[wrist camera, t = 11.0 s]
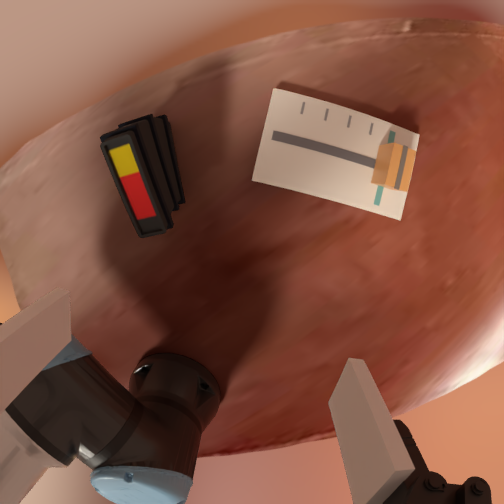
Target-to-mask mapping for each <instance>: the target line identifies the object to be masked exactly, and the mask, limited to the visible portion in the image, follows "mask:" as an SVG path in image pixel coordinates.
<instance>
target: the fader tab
mask: <svg viewBox="0 0 504 504" xmlns="http://www.w3.org/2000/svg"><path fill="white" fill-rule="evenodd" d="M415 155H416V151H415V150H412V149H410V148H408V146H405V145H403V146H402V145H400V144H397V143H395V142H394V143H389V144H384V145H379V149H378V154H377V158H376V163H375V167H374V171H373V176H372V180H371V183H373V184H376V185H379V186H382V187H385V188H388V189H391V190H397V191H403V192H407V191H408V187H409V183H410V178H411V174H412V169H413V165H414V160H415Z"/></svg>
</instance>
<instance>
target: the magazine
mask: <svg viewBox="0 0 504 504" xmlns="http://www.w3.org/2000/svg"><path fill="white" fill-rule="evenodd" d="M118 127H119V128H118V129H116V130H114V131H111V132H109V133H106V134H103V135H102V136H101V137H100V139H101V142H102V143H101V149H102V152H103V155H104V157H105V160H106V162H107V165H108V167H109V170H110V172H111V175H112V177H113V179H114V182H115V184H116V187H117V189H118V191H119V194H120V196H121V198H122V201H123V203H124V205H125V207H126V210H127V212H128V214H129V216H130V219H131V221H132V223H133V225H134V227H135V230H136V232H137V234H138V236H139V237H140V238H145V237H149V236H154V235H159V234H163V233H165V232H166V230H167V229H170V228H173V225H174V223H173V221H172V218H171V212H172V211H176V210H179V205H178V204H182V203H185V198H184V193H183V188H182V183H181V178H180V173H179V168H178V163H177V158H176V153H175V148H174V142H173V137H172V131H171V126H170V122H168V119H167V116H166V115H162V116H158V117H153V115H152V114H150V115H147V116H144V117H140V118H137V119H134V120H131V121H128V122H125V123H122V124H120V125H118Z"/></svg>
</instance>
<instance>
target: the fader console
mask: <svg viewBox="0 0 504 504" xmlns="http://www.w3.org/2000/svg"><path fill="white" fill-rule="evenodd" d="M418 140H419V135H418V134H416V133H414V132H411V131H409V130H407V129H404V128H402V127H399V126H397V125H394V124H391V123H389V122H386V121H384V120H381V119H378V118H375V117H373V116H370V115H367V114H364V113H361V112H358V111H355V110H352V109H349V108H346V107H343V106H340V105H336V104H333V103H330V102H326V101H323V100H319V99H316V98H312V97H309V96H305V95H301V94H297V93H293V92H289V91H285V90H281V89H276V88H273V93H272V97H271V101H270V105H269V109H268V113H267V117H266V121H265V126H264V130H263V134H262V138H261V142H260V147H259V151H258V155H257V159H256V164H255V168H254V172H253V176H252V181H256V182H261V183H265V184H269V185H273V186H277V187H282V188H286V189H290V190H294V191H298V192H302V193H306V194H309V195H313V196H317V197H321V198H325V199H328V200H332V201H336V202H339V203H343V204H346V205H350V206H354V207H357V208H361V209H364V210H367V211H371V212H374V213H377V214H381V215H384V216H387V217H391V218H394V219H397V220H400V219H401V216H402V212H403V208H404V204H405V200H406V196H407V192H408V191H407V192H403V191H397V190H391V189H388V188H385V187H382V186H379V185H376V184H373V183H371V180H372V176H373V171H374V167H375V163H376V158H377V154H378V149H379V145H384V144H389V143H394V142H395V143H397V144H400V145H402V146H403V145H405V146H408V148H410V149H412V150H415V151H417V145H418ZM415 156H416V155H415ZM414 161H415V160H414ZM412 170H413V169H412ZM411 175H412V174H411ZM410 179H411V178H410ZM409 184H410V183H409ZM408 188H409V187H408Z"/></svg>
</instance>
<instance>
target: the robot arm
mask: <svg viewBox="0 0 504 504" xmlns="http://www.w3.org/2000/svg"><path fill="white" fill-rule="evenodd" d="M219 402H220V389H219V386H218V383H217V381H216V380H215V378H214V377H213V375H212V374H211V373H210V372H209V371H208V370H207V369H206V368H205V367H203V366H202V365H201V364H199V363H198V362H196V361H194V360H192V359H190V358H187V357H185V356H181V355H177V354H171V353H159V354H154V355H151V356H148V357H146V358H144V359H143V360H142V361H141V362H139V364H138V365H137V366H136V368H135V370H134V371H133V373H132V375H131V378H130V382H129V391H128V390H126V389H125V388H124V387H123V386H122V385H121V384H120V383H119V382H118V381H117V380H116V379H115V378H114V377H113V376H112V375H111V374H110V373H109V372H108V371H107V370H106V369H105V368H104V367H103V366H102V365H101V364H100V363H99V362H98V361H97V360H96V359H95V358H94V357H93V355H92V352H91V351H90V350H87V349H86V348H85V347H84V346H83V345H82V344H81V343H80V342H79V341H78V340H77V339H76V338H75V337H74V336H73V335H72V334H71V320H70V291H67V290H65V289H62V288H59V287H57V288H55V289H54V290H52V291H51V292H49V293H48V294H46V295H45V296H43V297H41V298H40V299H38V300H37V301H35V302H34V303H32V304H31V305H29V306H28V307H26V308H25V309H23V310H22V311H20V312H19V313H18V314H16V315H15V316H13V317H12V318H10V319H9V320H7V321H6V322H5V323H3V324H2V323H0V504H19V503H20V502H21V500H22V499H23V498H24V497H25V496H26V494H28V492H29V491H30V490H31V489H32V488H33V486H34V485H35V484H36V483H37V482H38V480H39V479H40V478H41V477H42V476H43V474H44V473H45V472H46V471H47V470H48V468H50V467H61V468H66V467H68V466H69V465H70V463H71V462H72V461H73V460H74V459H75V458H76V457H77V458H78V459H79V460H81V461H82V462H83V463H84V464H86V465H87V466H89V467H90V468H91V469H92V470H93V471H92V472H91V474H90V476H91V484H92V486H93V487H94V488H95V490H96V491H97V492H98V493H99V494H101V495H102V496H104V497H105V498H107V499H109V500H110V501H112V502H114V503H116V504H185V502H186V500H187V497H188V493H189V490H190V487H191V486H192V484H193V481H192V480H193V475H194V470H195V465H196V460H197V454H198V449H199V444H200V439H201V434H202V432H203V431H204V430H205V428H206V427H207V426H208V425H209V423H210V422H211V421H212V419H213V418H214V417H215V415H216V413H217V411H218V408H219ZM328 403H329V407H330V411H331V415H332V419H333V422H334V426H335V430H336V434H337V438H338V442H339V446H340V450H341V454H342V458H343V462H344V466H345V470H346V474H347V478H348V483H349V486H350V491H351V495H352V500H353V504H492V501H491V490H490V487H489V485H488V483H487V482H486V481H485V480H484V479H482V478H480V477H470V478H468V479H467V480H466V481H465V482H464V484H462V485H456V484H447V482H446V480H445V479H444V478H443V477H442V476H441V475H440V474H438V473H435V472H432V471H429V470H428V468H427V466H426V464H425V461H424V459H423V457H422V455H421V453H420V451H419V449H418V447H417V446H416V443H415V441H414V439H412V435H411V433H410V431H409V429H408V427H407V426H406V425H405V424H404V423H403V422H402V421H401V420H393V419H392V417H391V415H390V413H389V411H388V409H387V407H386V404H385V402H384V400H383V398H382V396H381V394H380V392H379V390H378V388H377V386H376V384H375V382H374V380H373V378H372V376H371V374H370V372H369V370H368V368H367V366H366V364H365V362H364V360H361V359H353V358H348V361H347V363H346V365H345V367H344V370H343V372H342V374H341V376H340V379H339V381H338V383H337V385H336V387H335V389H334V392H333V394H332V396H331V398H330V400H329V402H328Z"/></svg>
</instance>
